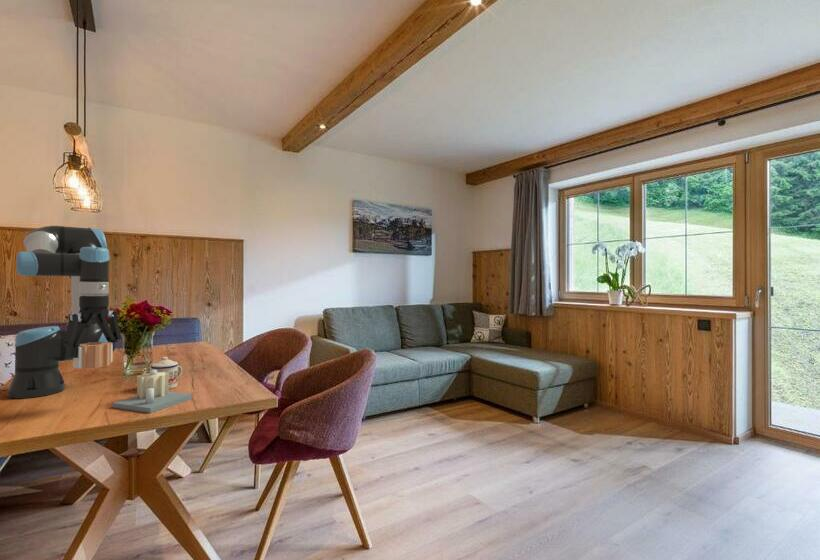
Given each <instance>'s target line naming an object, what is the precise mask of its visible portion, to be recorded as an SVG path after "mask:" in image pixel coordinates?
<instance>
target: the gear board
mask: <svg viewBox="0 0 820 560" xmlns="http://www.w3.org/2000/svg"><path fill="white" fill-rule="evenodd" d="M168 374H169V373H166V372H157V370H151V369H150V370H149V372H148V373H146V372H143V373H141V375H137V376H136V380H137V381H136V395H134V396H132V397H128V398H125V399H121V400H117V401H114V402H112V408H114V409H119V410H120V409H121V410H128V411H134V412H140V413H141V412H142V413H147V414H152V413H155V412H158V411H160V409H161V410H163V408H164V409H166V408H169V407H172V406H175V405H177V404H181V403H183V402H187V401H189V400H192V399H193V394H192V393H184V392H176V391H169V389H168ZM154 411H155V412H154Z"/></svg>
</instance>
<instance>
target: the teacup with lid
mask: <svg viewBox="0 0 820 560" xmlns="http://www.w3.org/2000/svg"><path fill="white" fill-rule="evenodd" d="M150 368H151V369H150V370H157V372H166V373H169V374H168V390H171V389H174V388H177V386H178V378H179V377H181V375H182V373H183V368H182V366H180V365H179V363H178V362H177V361H173V360H171V359H169V358H168V357H167V356H163V357H161V359H160V360H158V361H156V362H154V363H152V364H151V365H150Z"/></svg>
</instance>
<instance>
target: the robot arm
mask: <svg viewBox="0 0 820 560" xmlns="http://www.w3.org/2000/svg"><path fill="white" fill-rule="evenodd" d="M23 238H24V239H23V246H24V249H25V250H26V251H19V252H17V254H16V273H17V275H19V276H29V277H71V279H70V281H71V313H69V314H68V317H67V318H68V323H67V324H66V329H61V328H60V326H59V325H51V326H43V327H42V326H41V327H35V328H30V329H26V330H21V331H20V332H18V333H17V334H16V335H15V342H14V347H15V349H14V352H15V353H14V375H13V377H12V380H11V382H10V384H9V387H8V389H7V398H10V399H29V398H39V397H43V396H44V397H46V396H50V395H53V394H57V393H60V392H62V391H64V390H65V389H66V383H65V380H64V378H63V376H62V373H61V371H60V366H59V365H60V362H65V361H72V368H73V369H81V368H82V347H79V346H80V344H84V343H88V342H111V363H113V358H114V357H113V355H114V354H113V352H115V347H116V346H115V345H116V343H117V342H118V340H120V339H121V338H122V336H121V330H120V326H119V322H118V321H119V320H118V314H119V313H118V311H116V310H109V309H108V307H109V305H110V301H109V300H110V297H109V295H108V294H109V293H110V290H109V289H110V282H109V281H110V279H109V278H110V277H109V276H110V259H111V257H110V250H109V249H108V247H107V246H108V244H107V240H106V236H105V233H104V231H103V230H101V229H99V228H92V227H77V226H75V227H74V226H63V225H48V226H46V225H45V226H42V227H39V228H36V229H33V230H31V231H29V232H28V233H27V234H26V235H25V236H24V237H23ZM107 317H108V318H107ZM107 319H108V320H107Z"/></svg>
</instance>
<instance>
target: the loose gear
mask: <svg viewBox="0 0 820 560" xmlns="http://www.w3.org/2000/svg"><path fill="white" fill-rule="evenodd" d="M79 347H82V368H80V369H82V370H83V369H84V370H85V369H92V368H94V369H98V368H101V367H108V366H110V365H111V364H112V362H111V342H88V343H84V344H80V346H79Z"/></svg>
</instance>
